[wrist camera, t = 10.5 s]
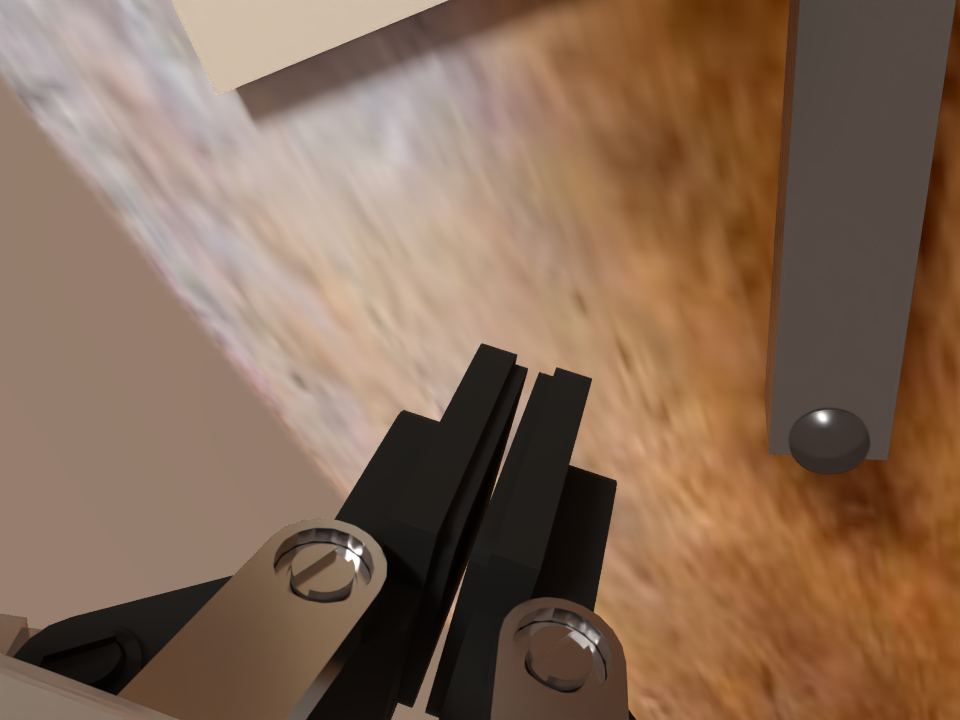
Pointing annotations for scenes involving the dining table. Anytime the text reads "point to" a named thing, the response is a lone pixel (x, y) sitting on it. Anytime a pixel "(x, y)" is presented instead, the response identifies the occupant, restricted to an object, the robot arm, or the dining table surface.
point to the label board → (278, 31)
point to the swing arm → (849, 221)
